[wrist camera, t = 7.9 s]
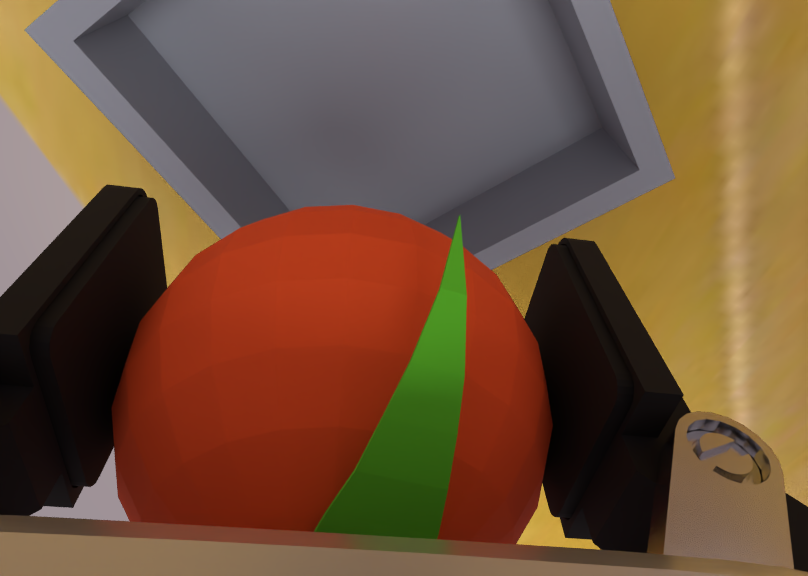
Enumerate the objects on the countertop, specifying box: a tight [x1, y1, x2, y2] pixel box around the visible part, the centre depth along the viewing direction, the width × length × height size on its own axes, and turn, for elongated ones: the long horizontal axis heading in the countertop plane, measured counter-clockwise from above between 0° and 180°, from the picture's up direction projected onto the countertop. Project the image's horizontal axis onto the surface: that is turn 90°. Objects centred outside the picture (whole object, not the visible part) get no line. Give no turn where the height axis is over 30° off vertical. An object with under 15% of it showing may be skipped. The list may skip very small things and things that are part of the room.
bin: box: [25, 0, 675, 270], centre depth 21 cm, size 16×16×5 cm
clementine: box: [112, 205, 553, 544], centre depth 9 cm, size 8×7×7 cm
